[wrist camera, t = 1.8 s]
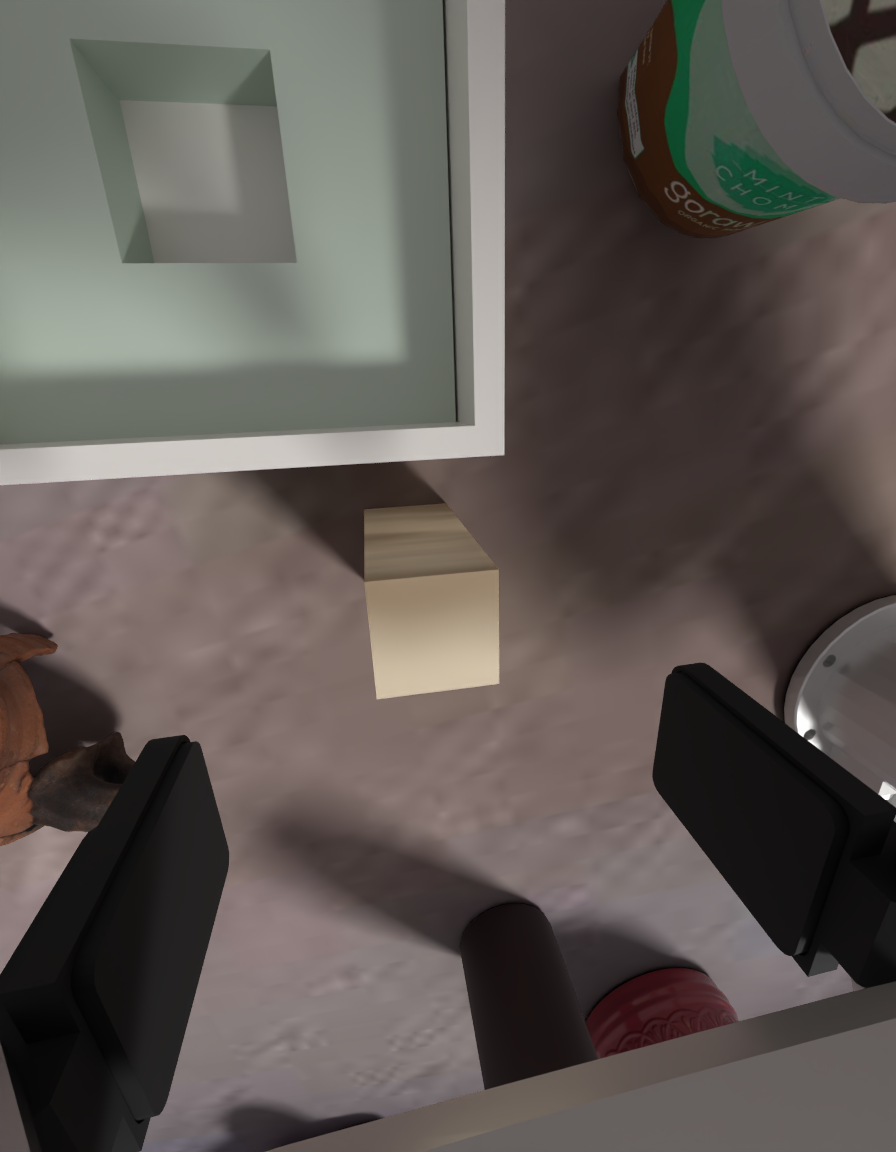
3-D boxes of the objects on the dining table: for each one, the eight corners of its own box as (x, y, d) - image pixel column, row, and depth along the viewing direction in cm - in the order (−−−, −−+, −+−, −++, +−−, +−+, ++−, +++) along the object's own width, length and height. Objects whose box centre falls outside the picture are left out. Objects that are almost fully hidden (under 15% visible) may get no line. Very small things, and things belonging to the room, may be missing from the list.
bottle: (566, 916, 36) (784, 1470, 17) (510, 974, 37) (656, 1549, 19) (497, 888, 34) (662, 1488, 15) (440, 951, 35) (526, 1576, 16)
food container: (563, 253, 21) (721, 138, 12) (584, 70, 19) (796, -248, 10) (808, 281, 23) (1108, 202, 14) (851, 119, 21) (1237, -102, 12)
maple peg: (449, 579, 25) (498, 683, 16) (372, 586, 25) (376, 699, 15) (446, 503, 24) (498, 569, 15) (364, 509, 23) (364, 581, 14)
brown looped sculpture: (-58, 790, 25) (-287, 851, 17) (20, 616, 27) (-154, 596, 19) (162, 855, 25) (37, 947, 17) (227, 677, 27) (141, 683, 19)
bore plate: (443, 418, 21) (455, 421, 19) (52, 437, 19) (0, 444, 17) (423, -93, 16) (436, -197, 13) (-130, -147, 14) (-256, -286, 11)
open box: (464, 439, 23) (504, 454, 16) (45, 461, 20) (-103, 491, 14) (450, -104, 17) (505, -425, 10) (-157, -166, 14) (-597, -643, 8)
